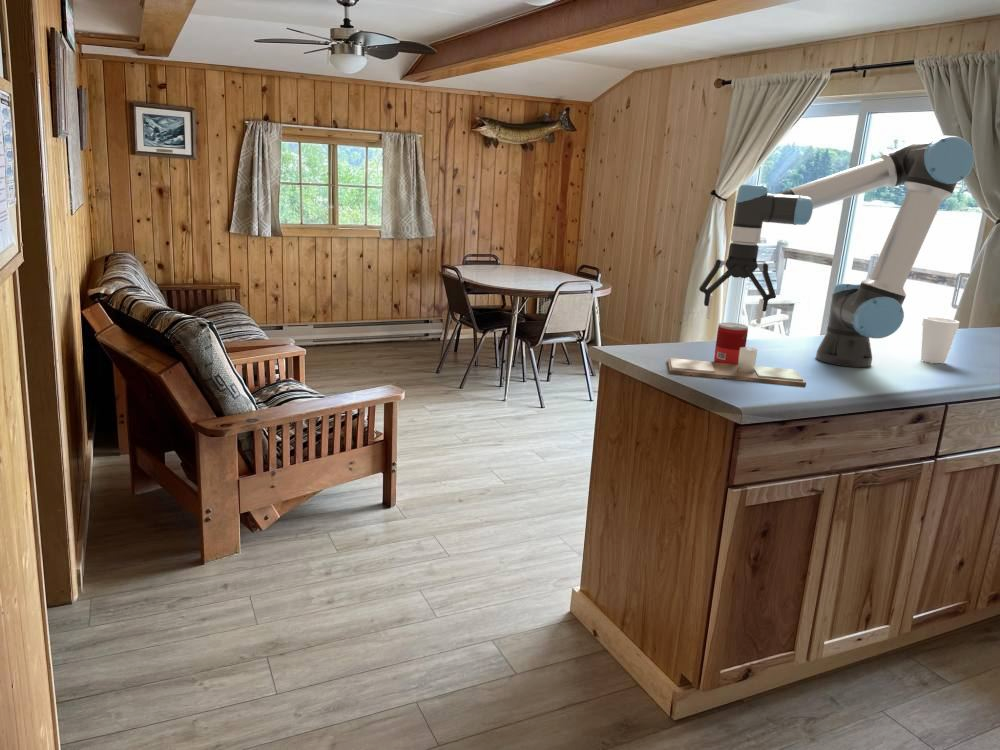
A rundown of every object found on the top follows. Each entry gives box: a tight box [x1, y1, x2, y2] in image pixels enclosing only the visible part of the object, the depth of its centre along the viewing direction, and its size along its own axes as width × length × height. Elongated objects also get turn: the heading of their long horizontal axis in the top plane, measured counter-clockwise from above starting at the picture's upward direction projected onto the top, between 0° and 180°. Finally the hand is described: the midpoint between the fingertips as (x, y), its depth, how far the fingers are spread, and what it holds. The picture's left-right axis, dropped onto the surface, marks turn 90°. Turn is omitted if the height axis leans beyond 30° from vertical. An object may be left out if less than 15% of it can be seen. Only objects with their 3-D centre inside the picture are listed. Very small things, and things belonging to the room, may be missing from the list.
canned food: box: [713, 322, 749, 364], centre depth 209 cm, size 8×8×11 cm
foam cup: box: [920, 316, 960, 364], centre depth 226 cm, size 10×9×13 cm
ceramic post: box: [737, 346, 758, 373], centre depth 197 cm, size 4×4×6 cm
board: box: [667, 357, 807, 387], centre depth 199 cm, size 34×14×1 cm, turn 80°
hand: (732, 320), depth 207 cm, fingers open, 13 cm apart
